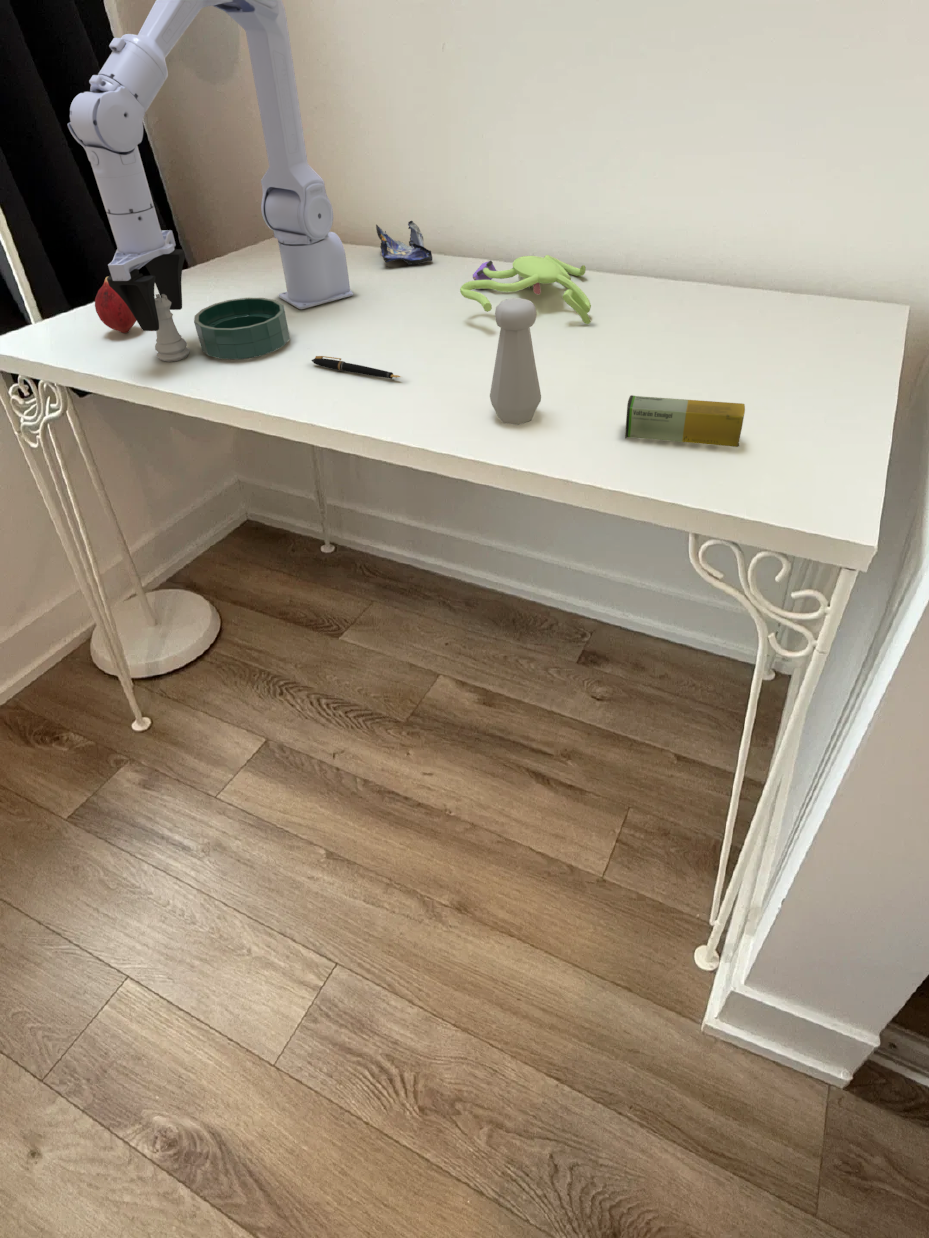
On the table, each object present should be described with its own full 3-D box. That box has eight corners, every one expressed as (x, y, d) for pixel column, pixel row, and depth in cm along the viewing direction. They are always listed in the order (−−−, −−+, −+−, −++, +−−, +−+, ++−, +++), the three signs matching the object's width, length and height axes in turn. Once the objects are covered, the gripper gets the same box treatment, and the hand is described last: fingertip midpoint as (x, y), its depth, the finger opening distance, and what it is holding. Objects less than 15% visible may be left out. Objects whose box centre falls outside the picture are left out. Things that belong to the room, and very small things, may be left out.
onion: (132, 341, 114) (114, 284, 108) (97, 340, 115) (77, 283, 109) (152, 326, 118) (135, 271, 113) (118, 325, 119) (99, 270, 114)
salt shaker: (488, 407, 92) (485, 294, 84) (536, 403, 93) (538, 290, 84) (493, 430, 88) (491, 313, 80) (544, 426, 88) (547, 309, 80)
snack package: (446, 249, 141) (385, 245, 144) (443, 212, 136) (379, 209, 139) (427, 282, 134) (363, 278, 136) (423, 245, 129) (357, 241, 131)
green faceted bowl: (268, 322, 117) (261, 291, 114) (305, 346, 109) (299, 313, 106) (190, 344, 112) (181, 312, 109) (223, 370, 104) (214, 337, 101)
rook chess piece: (196, 354, 109) (180, 296, 103) (168, 365, 106) (150, 305, 101) (179, 347, 111) (162, 289, 106) (151, 357, 109) (132, 298, 103)
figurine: (458, 335, 110) (456, 294, 106) (472, 273, 130) (471, 237, 126) (591, 333, 108) (594, 292, 104) (584, 271, 128) (586, 234, 124)
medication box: (623, 439, 85) (625, 407, 82) (626, 426, 87) (628, 393, 84) (738, 448, 82) (745, 415, 79) (740, 434, 84) (746, 401, 81)
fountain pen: (405, 380, 99) (404, 369, 98) (401, 384, 98) (399, 373, 97) (314, 363, 105) (312, 352, 104) (309, 366, 104) (307, 355, 103)
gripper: (134, 224, 91) (168, 340, 99) (184, 193, 101) (211, 300, 110) (78, 225, 91) (117, 340, 100) (133, 194, 102) (164, 300, 111)
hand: (163, 319), depth 105 cm, fingers open, 7 cm apart
